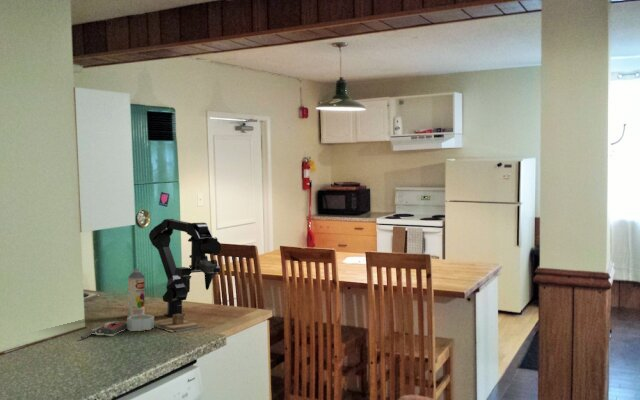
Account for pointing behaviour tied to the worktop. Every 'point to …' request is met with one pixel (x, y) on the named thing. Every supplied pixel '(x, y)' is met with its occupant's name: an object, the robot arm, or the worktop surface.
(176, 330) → the mat
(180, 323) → the lid
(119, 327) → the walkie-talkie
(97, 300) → the worktop surface
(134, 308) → the aerosol can
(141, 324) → the bowl
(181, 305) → the robot arm
